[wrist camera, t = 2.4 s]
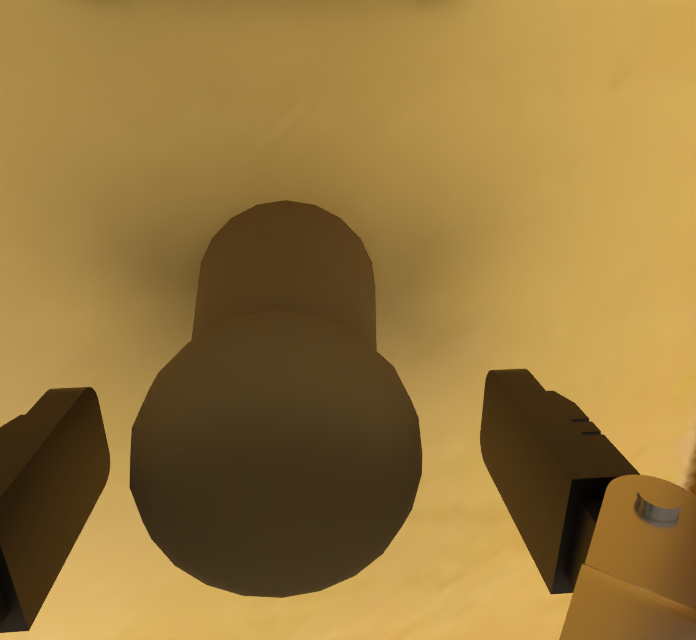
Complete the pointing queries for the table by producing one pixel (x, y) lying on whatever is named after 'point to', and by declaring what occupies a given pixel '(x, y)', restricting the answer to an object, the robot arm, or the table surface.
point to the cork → (278, 415)
